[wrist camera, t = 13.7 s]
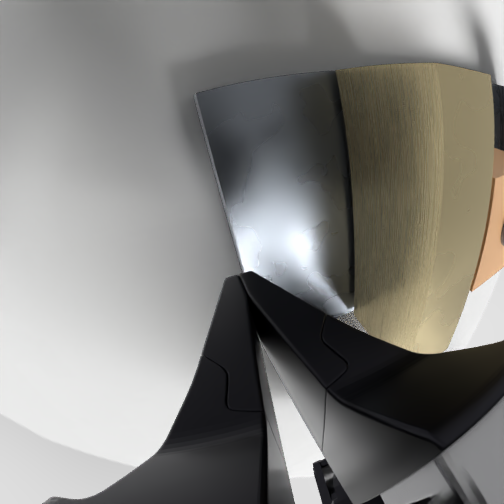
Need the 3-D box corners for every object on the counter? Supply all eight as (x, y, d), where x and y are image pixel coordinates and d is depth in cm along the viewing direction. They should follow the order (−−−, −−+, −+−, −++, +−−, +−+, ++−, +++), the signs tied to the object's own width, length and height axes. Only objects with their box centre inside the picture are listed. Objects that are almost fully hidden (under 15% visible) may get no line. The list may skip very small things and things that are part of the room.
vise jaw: (396, 295, 15) (447, 348, 11) (353, 314, 14) (402, 378, 10) (394, 70, 9) (490, 74, 4) (335, 70, 8) (436, 62, 4)
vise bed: (491, 222, 18) (544, 257, 12) (258, 325, 15) (299, 427, 10) (497, 85, 12) (566, 104, 6) (193, 96, 9) (215, 71, 4)
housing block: (458, 216, 14) (521, 257, 9) (404, 239, 13) (476, 295, 9) (462, 137, 11) (539, 166, 7) (406, 145, 11) (501, 181, 6)
